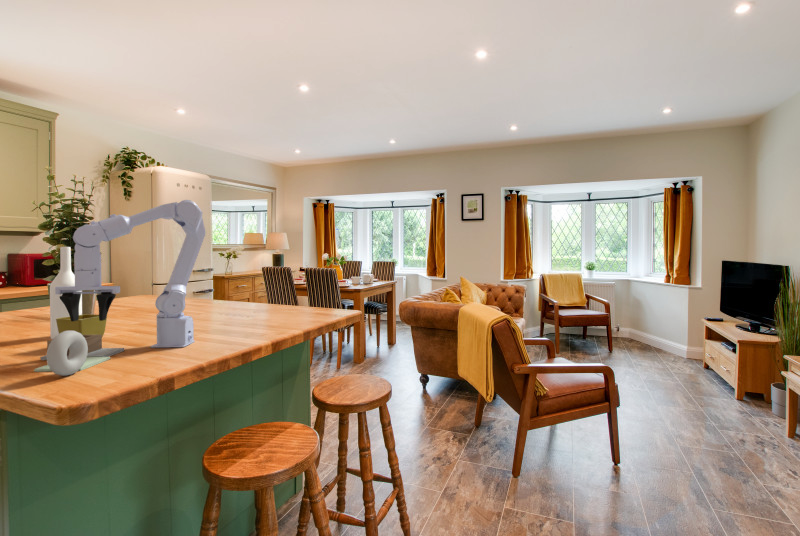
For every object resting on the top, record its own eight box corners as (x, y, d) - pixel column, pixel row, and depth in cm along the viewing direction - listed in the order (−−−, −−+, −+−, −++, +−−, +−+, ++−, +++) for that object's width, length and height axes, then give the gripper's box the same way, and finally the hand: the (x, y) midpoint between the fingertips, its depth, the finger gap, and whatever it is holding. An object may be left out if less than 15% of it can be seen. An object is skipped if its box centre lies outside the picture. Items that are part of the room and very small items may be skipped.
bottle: (56, 341, 126) (54, 246, 126) (46, 338, 131) (44, 246, 130) (86, 337, 133) (85, 247, 133) (76, 335, 137) (75, 247, 137)
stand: (124, 350, 114) (124, 335, 114) (102, 359, 104) (102, 342, 104) (67, 351, 113) (67, 336, 112) (40, 360, 103) (40, 343, 103)
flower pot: (80, 350, 114) (79, 319, 114) (55, 349, 116) (54, 318, 116) (108, 344, 123) (108, 315, 122) (84, 343, 124) (84, 314, 124)
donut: (76, 369, 95) (75, 327, 95) (91, 368, 95) (91, 326, 95) (42, 381, 85) (41, 334, 85) (59, 381, 85) (58, 334, 85)
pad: (110, 359, 104) (110, 356, 104) (80, 370, 93) (80, 368, 93) (69, 359, 103) (69, 357, 103) (34, 371, 92) (34, 369, 92)
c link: (101, 348, 113) (101, 334, 113) (80, 355, 104) (80, 340, 104) (71, 349, 112) (71, 334, 112) (47, 356, 104) (47, 341, 104)
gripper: (125, 269, 113) (125, 317, 114) (66, 269, 111) (67, 319, 111) (112, 270, 107) (113, 321, 107) (49, 270, 104) (50, 322, 104)
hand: (88, 320), depth 108 cm, fingers open, 6 cm apart
